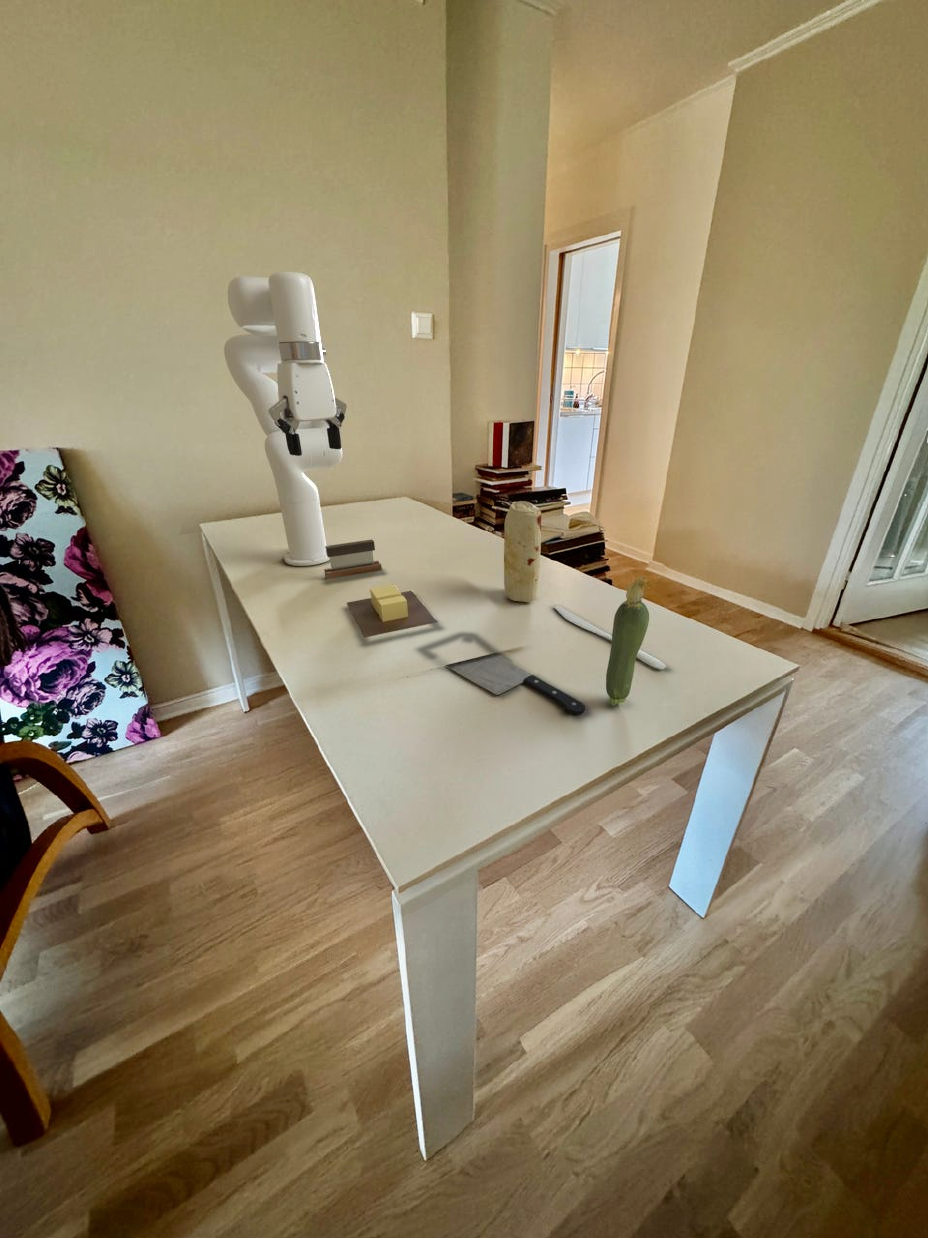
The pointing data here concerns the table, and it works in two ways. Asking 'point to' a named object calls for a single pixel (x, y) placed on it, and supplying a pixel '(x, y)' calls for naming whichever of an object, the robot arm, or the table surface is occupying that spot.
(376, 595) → the butter stick
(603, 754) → the table surface
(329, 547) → the cutter
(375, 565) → the holder
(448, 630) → the table surface
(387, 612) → the butter pat
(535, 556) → the food model
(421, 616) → the board
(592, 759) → the table surface
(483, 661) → the cleaver
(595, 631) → the butter knife
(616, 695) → the vegetable
